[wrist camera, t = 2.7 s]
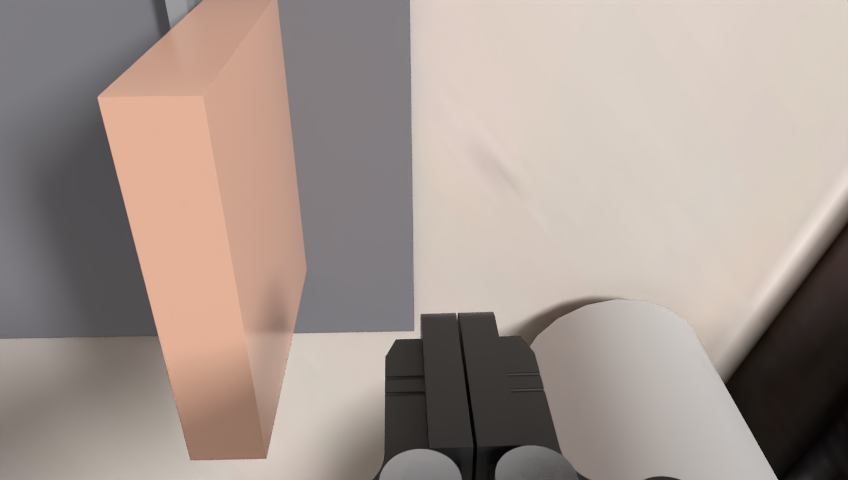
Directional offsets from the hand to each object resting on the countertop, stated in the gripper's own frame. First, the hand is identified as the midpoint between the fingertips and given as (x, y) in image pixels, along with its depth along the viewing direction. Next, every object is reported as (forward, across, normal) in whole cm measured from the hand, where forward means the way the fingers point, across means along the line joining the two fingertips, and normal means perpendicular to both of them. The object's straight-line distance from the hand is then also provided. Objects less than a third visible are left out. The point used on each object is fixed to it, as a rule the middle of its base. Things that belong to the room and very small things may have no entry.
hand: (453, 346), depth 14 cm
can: (+11, -8, +10) cm, 17 cm away
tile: (+11, +6, 0) cm, 12 cm away
